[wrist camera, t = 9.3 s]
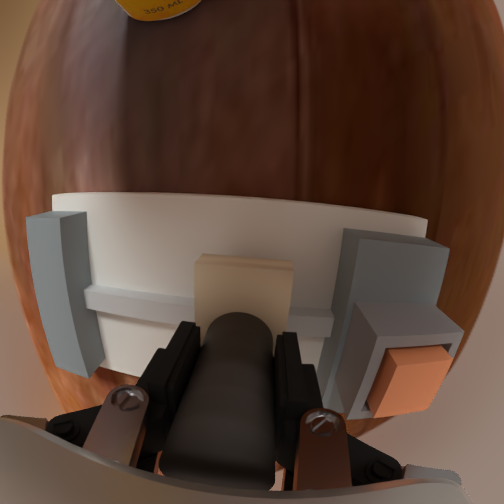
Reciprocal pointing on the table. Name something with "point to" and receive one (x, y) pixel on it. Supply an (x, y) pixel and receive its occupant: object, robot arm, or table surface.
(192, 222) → the rail base
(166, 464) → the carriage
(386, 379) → the button
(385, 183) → the table surface
